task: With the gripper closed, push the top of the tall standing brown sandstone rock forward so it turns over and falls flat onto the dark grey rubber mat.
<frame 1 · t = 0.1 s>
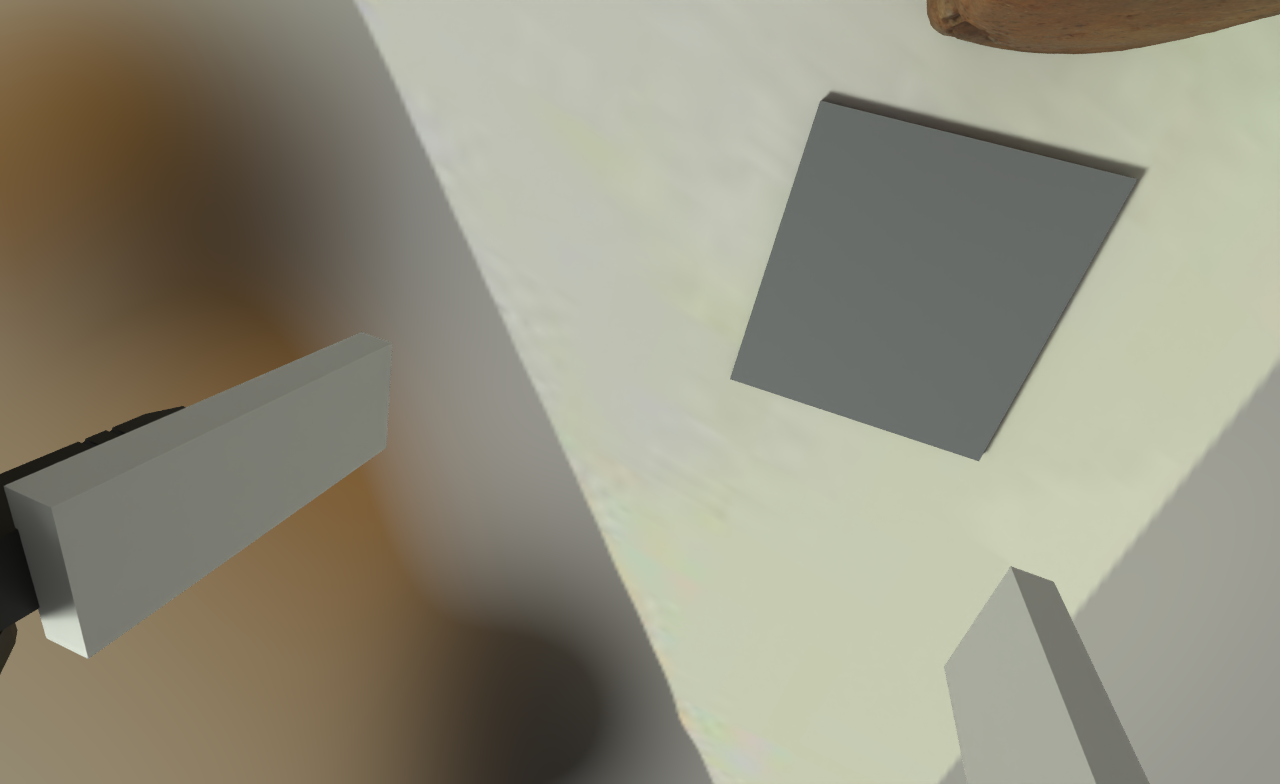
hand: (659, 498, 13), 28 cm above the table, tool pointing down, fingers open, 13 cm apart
mat: (904, 290, 36), on the table
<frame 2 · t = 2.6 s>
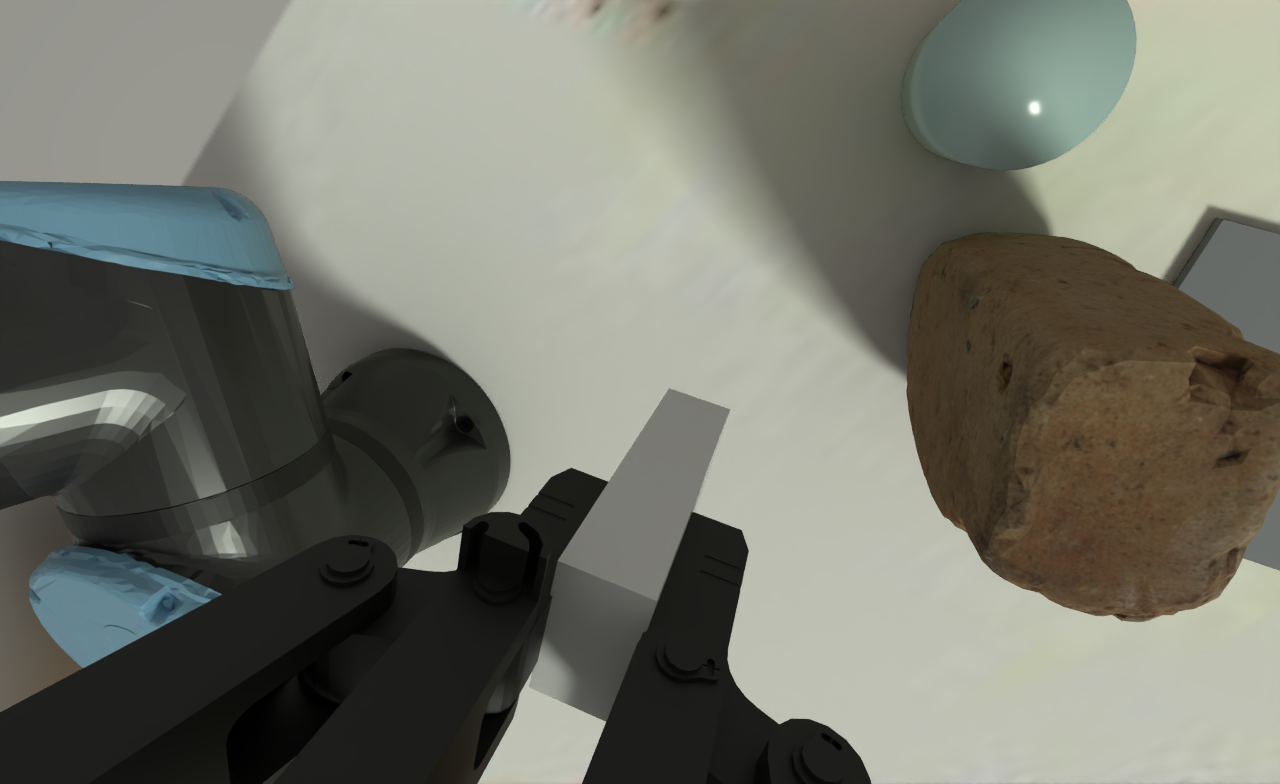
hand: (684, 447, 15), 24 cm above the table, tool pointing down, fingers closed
pale blue rounded cylinder: (979, 84, 30), on the table
brown sandstone rock: (976, 322, 34), on the table
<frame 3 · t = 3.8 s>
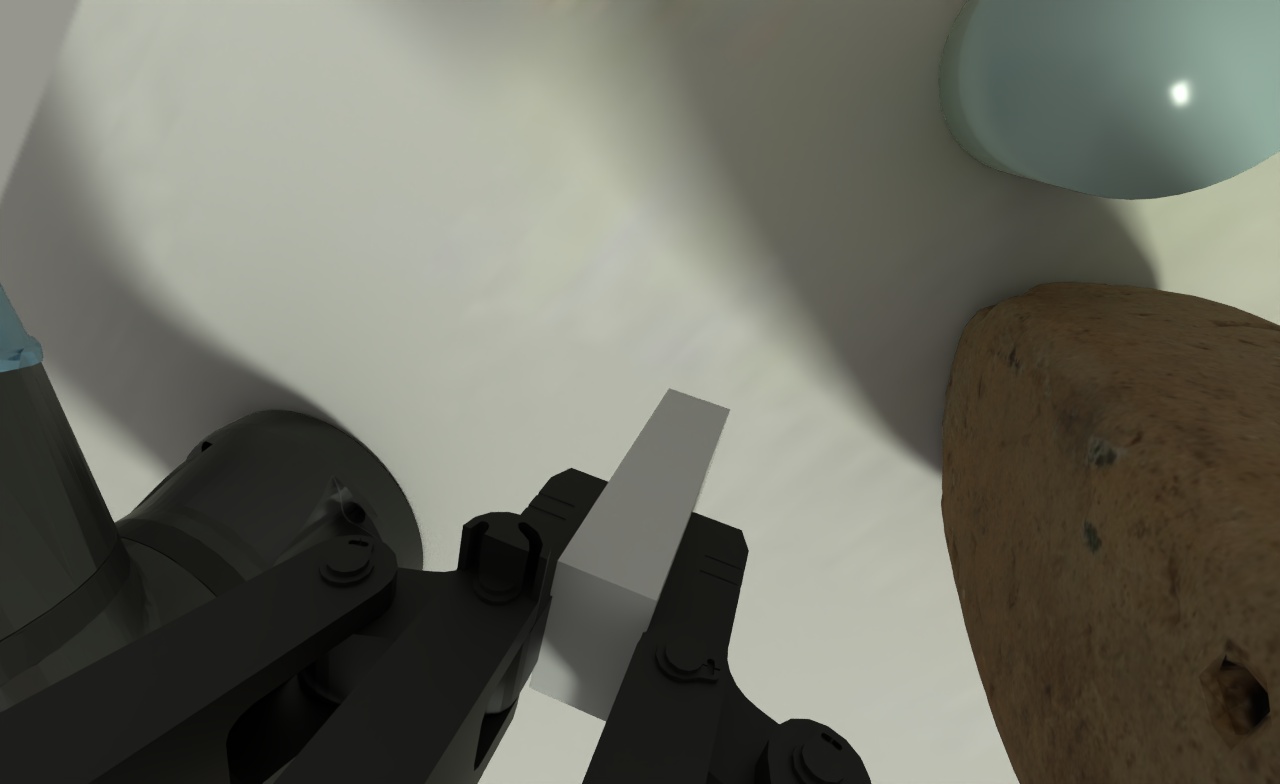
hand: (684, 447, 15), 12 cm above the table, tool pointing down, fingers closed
pale blue rounded cylinder: (1058, 61, 20), on the table
brown sandstone rock: (1041, 403, 24), on the table
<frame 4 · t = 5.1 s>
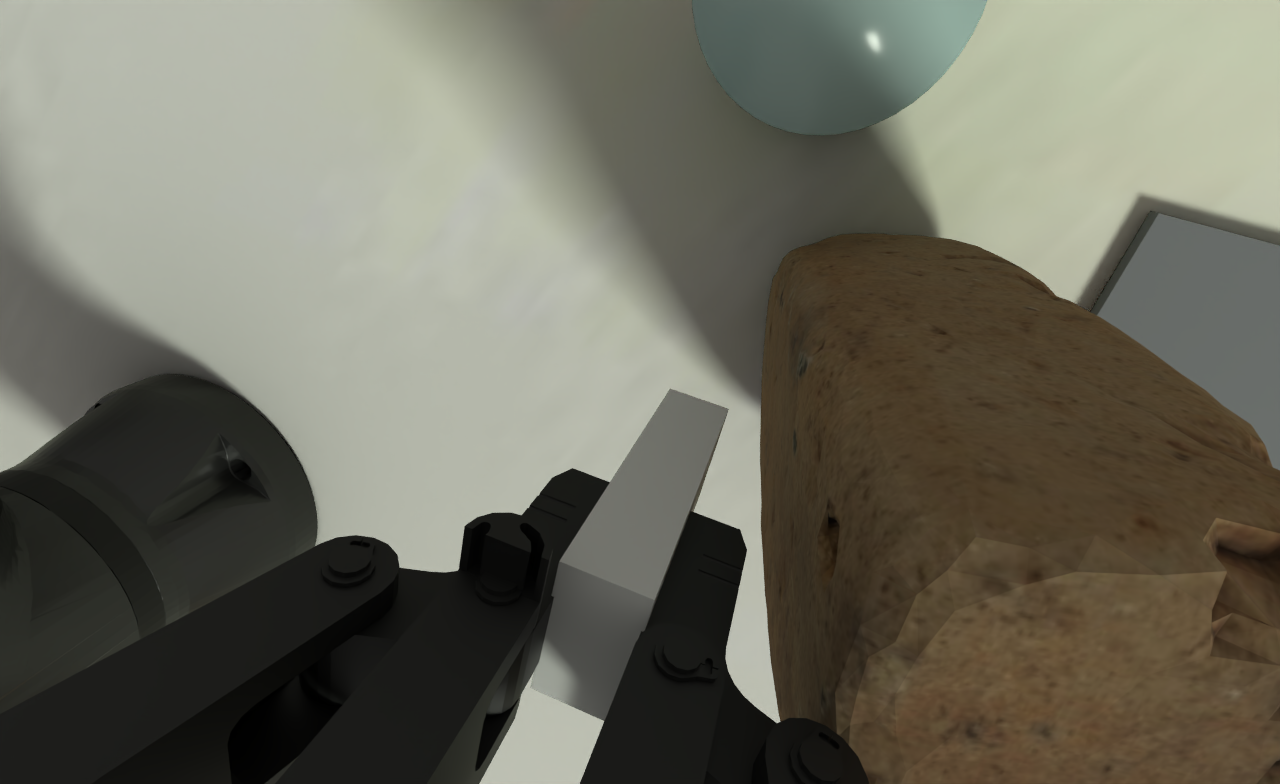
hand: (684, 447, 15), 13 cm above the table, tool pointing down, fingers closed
pale blue rounded cylinder: (830, 27, 22), on the table
mat: (1258, 480, 24), on the table
brown sandstone rock: (850, 351, 26), on the table, touching gripper, hand
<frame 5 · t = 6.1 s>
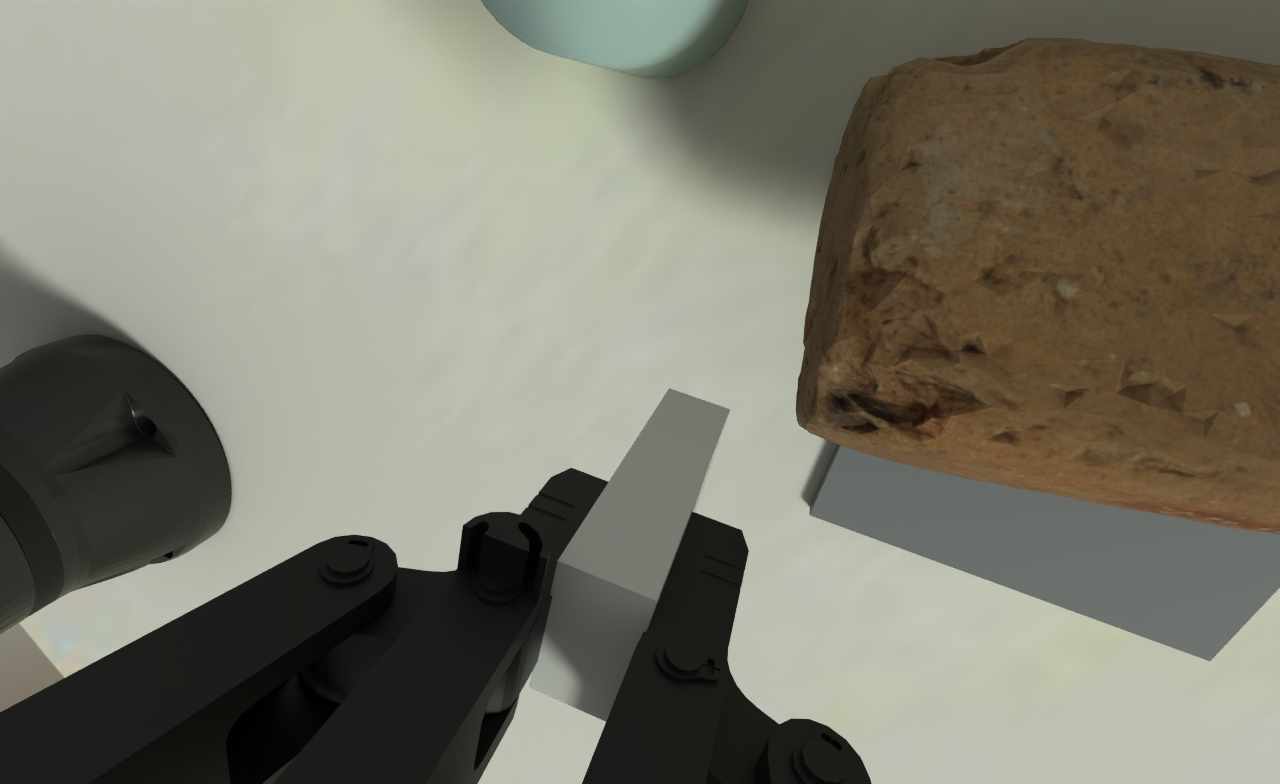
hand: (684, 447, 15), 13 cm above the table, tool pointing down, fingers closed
mat: (1097, 423, 24), on the table
brown sandstone rock: (814, 250, 17), point 7 cm above the table, touching mat
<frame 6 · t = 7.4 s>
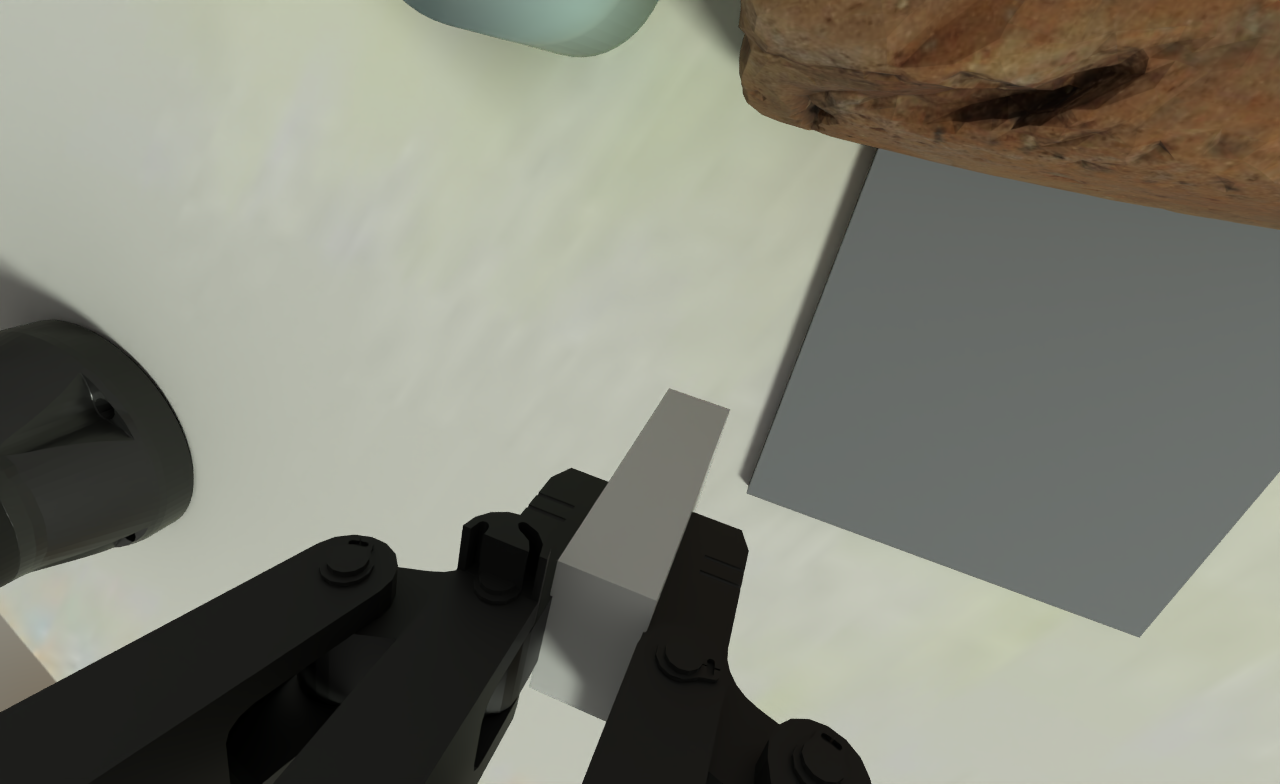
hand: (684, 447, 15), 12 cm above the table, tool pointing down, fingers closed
mat: (1021, 398, 24), on the table
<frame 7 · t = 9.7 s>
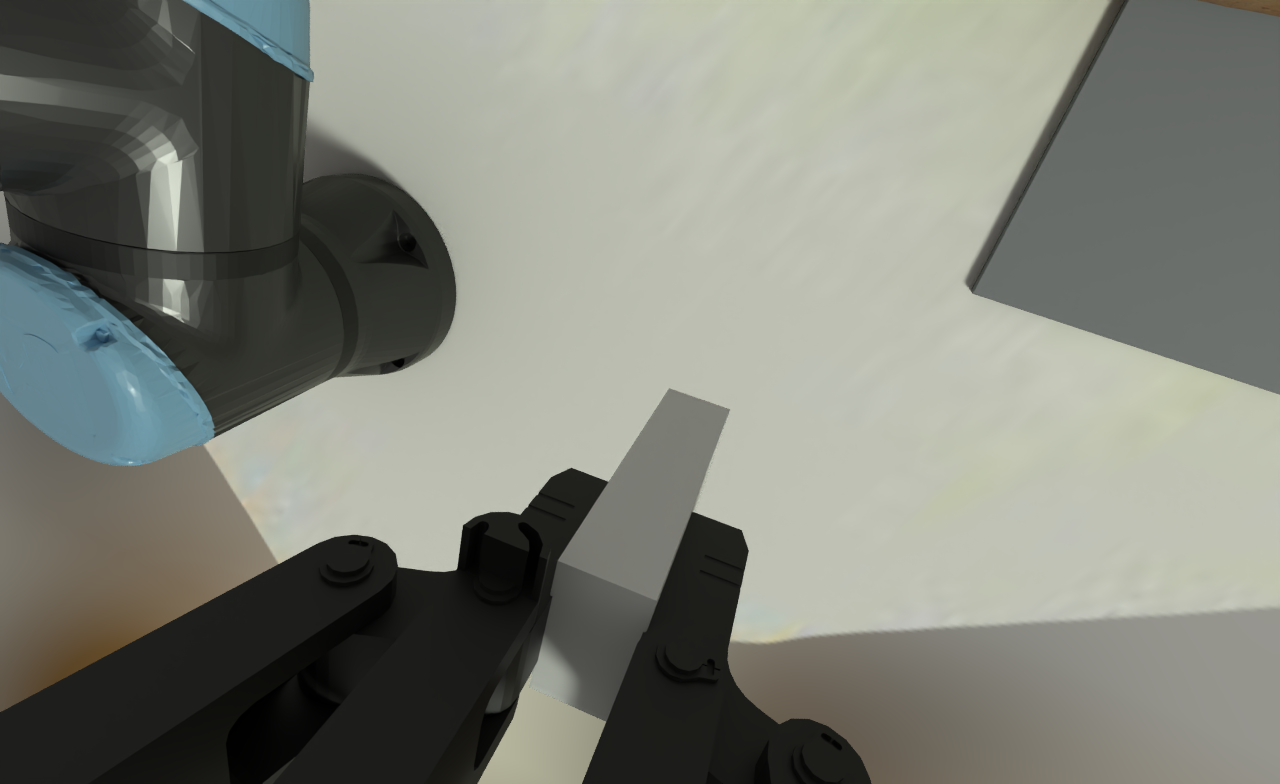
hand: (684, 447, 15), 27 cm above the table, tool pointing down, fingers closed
mat: (1215, 200, 32), on the table
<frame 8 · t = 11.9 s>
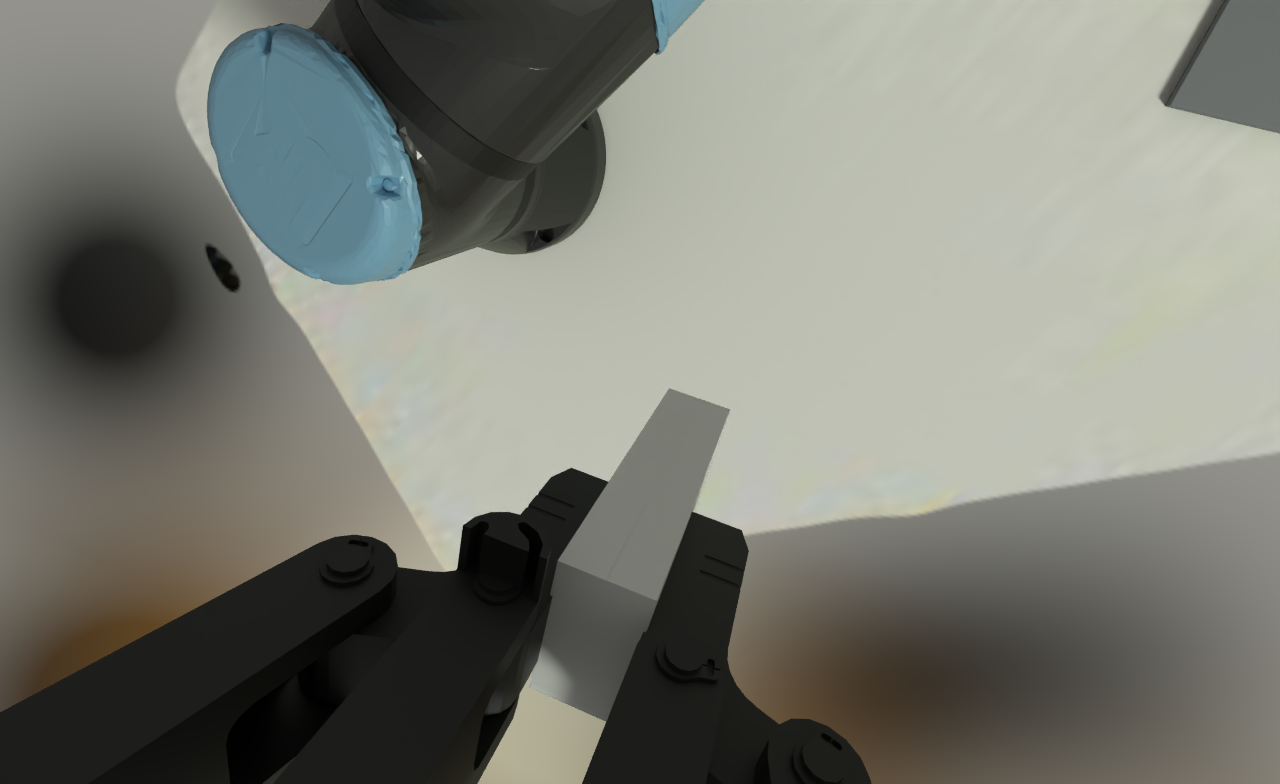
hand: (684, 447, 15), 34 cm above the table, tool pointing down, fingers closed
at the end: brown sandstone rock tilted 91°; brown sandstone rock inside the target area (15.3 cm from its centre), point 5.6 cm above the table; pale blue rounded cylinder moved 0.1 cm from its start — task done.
